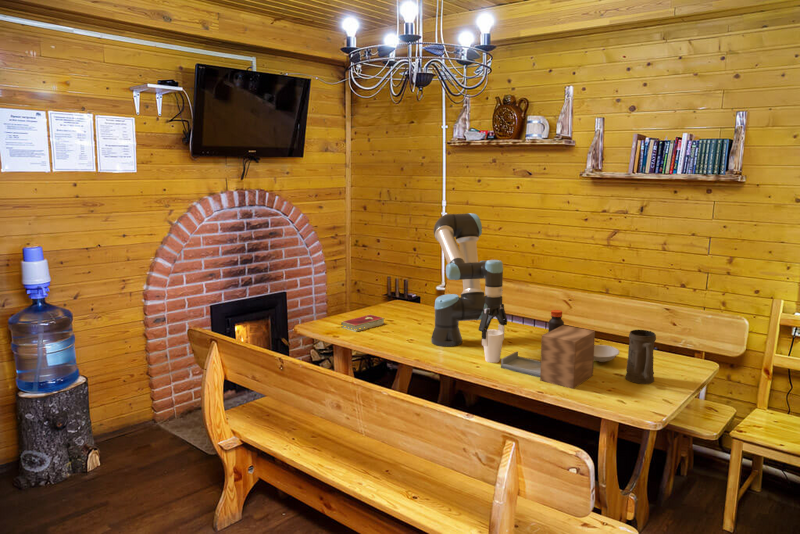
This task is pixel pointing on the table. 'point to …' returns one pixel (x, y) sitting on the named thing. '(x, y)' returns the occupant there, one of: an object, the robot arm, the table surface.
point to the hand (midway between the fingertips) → (493, 342)
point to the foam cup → (494, 345)
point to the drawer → (521, 364)
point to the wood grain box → (567, 356)
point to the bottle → (555, 320)
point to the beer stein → (640, 357)
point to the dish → (604, 353)
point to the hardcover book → (363, 323)
